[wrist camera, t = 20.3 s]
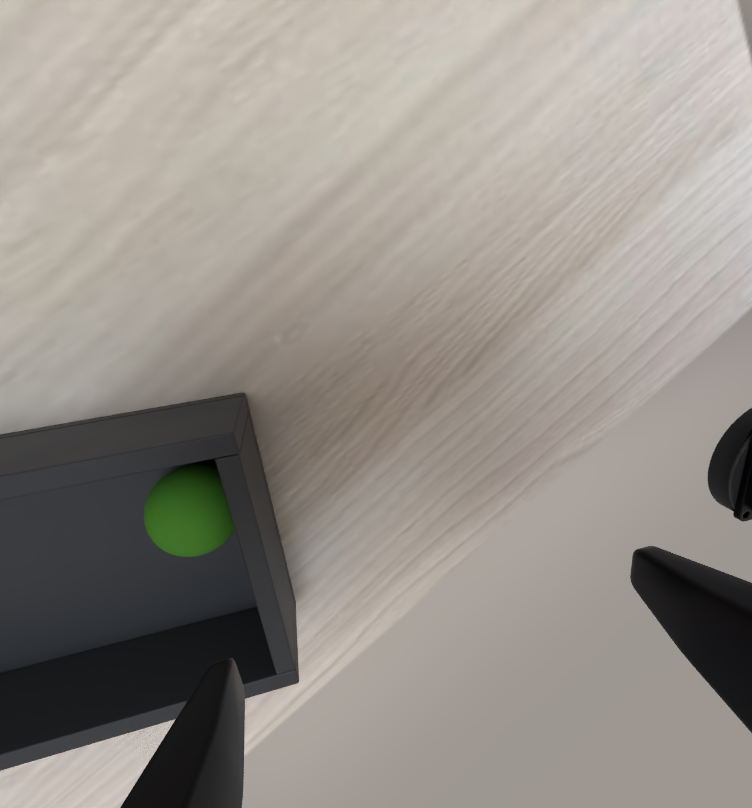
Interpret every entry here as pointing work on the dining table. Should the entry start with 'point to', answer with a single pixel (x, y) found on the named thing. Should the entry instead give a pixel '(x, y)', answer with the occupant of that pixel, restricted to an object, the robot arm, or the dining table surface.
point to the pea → (188, 512)
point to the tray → (130, 577)
